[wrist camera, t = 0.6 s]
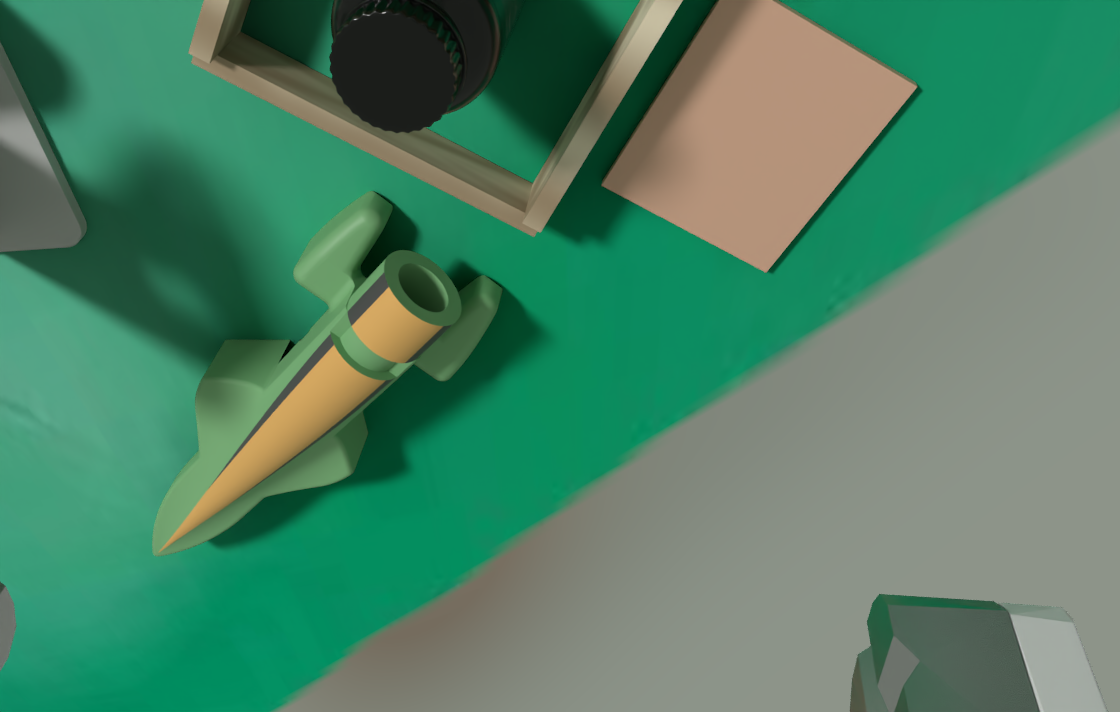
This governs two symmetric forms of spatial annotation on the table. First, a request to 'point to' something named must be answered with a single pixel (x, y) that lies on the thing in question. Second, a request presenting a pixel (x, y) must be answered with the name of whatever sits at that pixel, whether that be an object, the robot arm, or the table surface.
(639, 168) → the terracotta tile
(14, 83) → the phone holder
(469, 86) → the supplement bottle
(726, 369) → the table surface
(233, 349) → the toy crocodile
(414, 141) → the beige square open box
